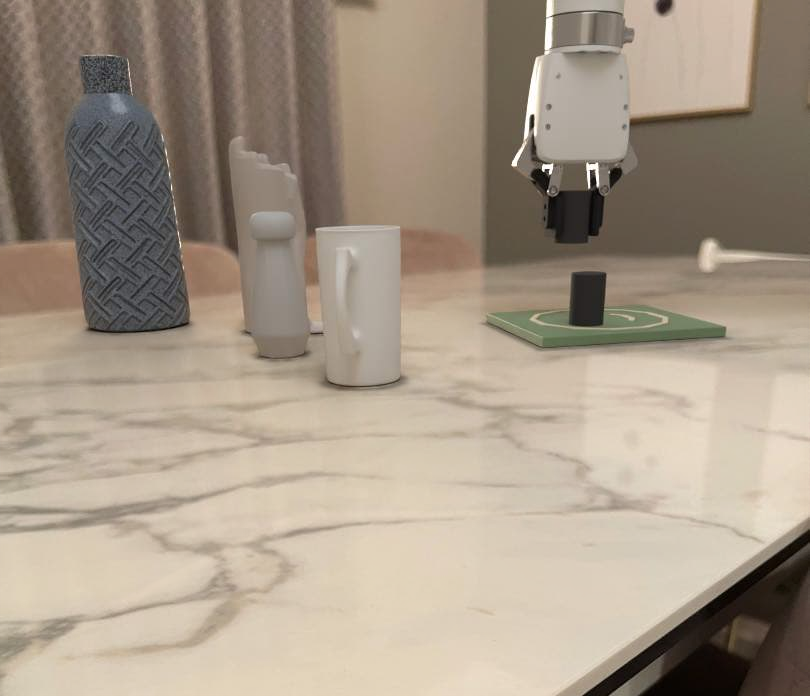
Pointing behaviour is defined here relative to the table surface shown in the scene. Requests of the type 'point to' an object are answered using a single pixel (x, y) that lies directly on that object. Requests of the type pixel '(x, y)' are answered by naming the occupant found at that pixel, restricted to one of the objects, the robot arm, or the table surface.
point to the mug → (360, 303)
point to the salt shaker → (277, 288)
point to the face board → (604, 326)
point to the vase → (122, 206)
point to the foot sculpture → (264, 192)
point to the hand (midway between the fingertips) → (571, 234)
